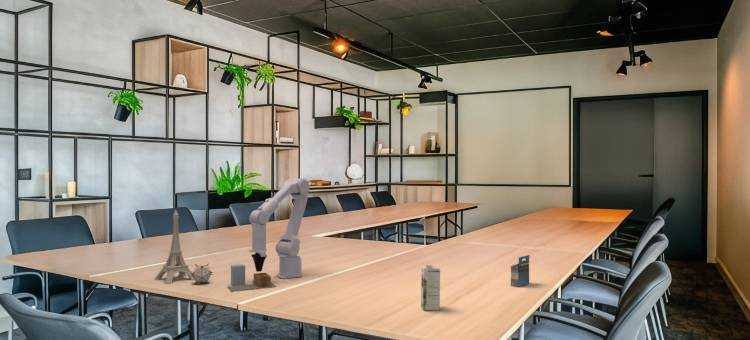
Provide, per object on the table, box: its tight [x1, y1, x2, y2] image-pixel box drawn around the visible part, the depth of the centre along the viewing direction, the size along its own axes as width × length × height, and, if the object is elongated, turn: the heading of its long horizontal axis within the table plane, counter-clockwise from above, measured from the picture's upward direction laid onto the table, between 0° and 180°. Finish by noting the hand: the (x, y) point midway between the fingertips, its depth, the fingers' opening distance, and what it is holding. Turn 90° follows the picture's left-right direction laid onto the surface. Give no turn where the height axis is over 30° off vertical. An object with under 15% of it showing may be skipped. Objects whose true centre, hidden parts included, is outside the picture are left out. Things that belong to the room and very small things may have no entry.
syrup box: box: [420, 264, 441, 311], centre depth 176 cm, size 6×6×14 cm
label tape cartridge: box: [510, 254, 530, 288], centre depth 211 cm, size 9×4×12 cm, turn 134°
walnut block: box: [253, 272, 272, 287], centre depth 209 cm, size 5×4×8 cm
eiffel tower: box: [153, 209, 195, 285], centre depth 220 cm, size 13×13×30 cm
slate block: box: [230, 263, 246, 286], centre depth 210 cm, size 5×4×8 cm
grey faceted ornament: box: [191, 263, 213, 285], centre depth 212 cm, size 9×8×10 cm
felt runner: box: [226, 282, 277, 292], centre depth 206 cm, size 18×8×1 cm, turn 117°
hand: (258, 271), depth 213 cm, fingers closed
